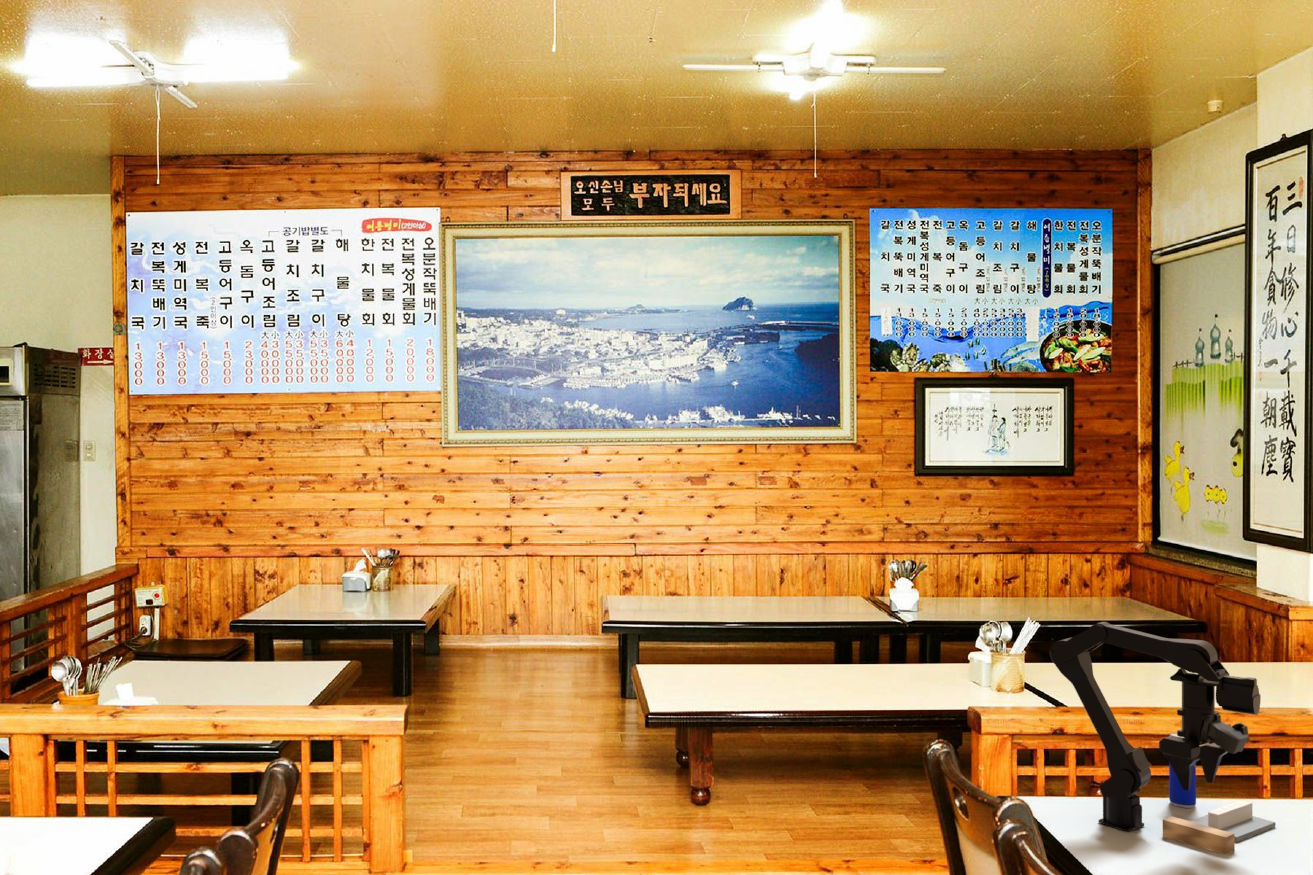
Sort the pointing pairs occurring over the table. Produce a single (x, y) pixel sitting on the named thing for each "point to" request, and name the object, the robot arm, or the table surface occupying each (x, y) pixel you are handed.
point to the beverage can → (1176, 791)
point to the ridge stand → (1236, 820)
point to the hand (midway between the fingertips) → (1198, 786)
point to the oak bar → (1198, 835)
